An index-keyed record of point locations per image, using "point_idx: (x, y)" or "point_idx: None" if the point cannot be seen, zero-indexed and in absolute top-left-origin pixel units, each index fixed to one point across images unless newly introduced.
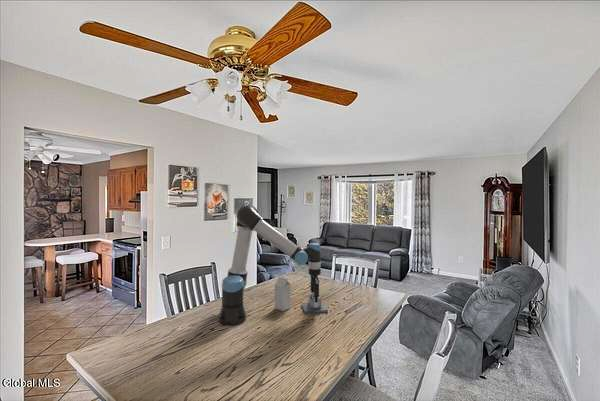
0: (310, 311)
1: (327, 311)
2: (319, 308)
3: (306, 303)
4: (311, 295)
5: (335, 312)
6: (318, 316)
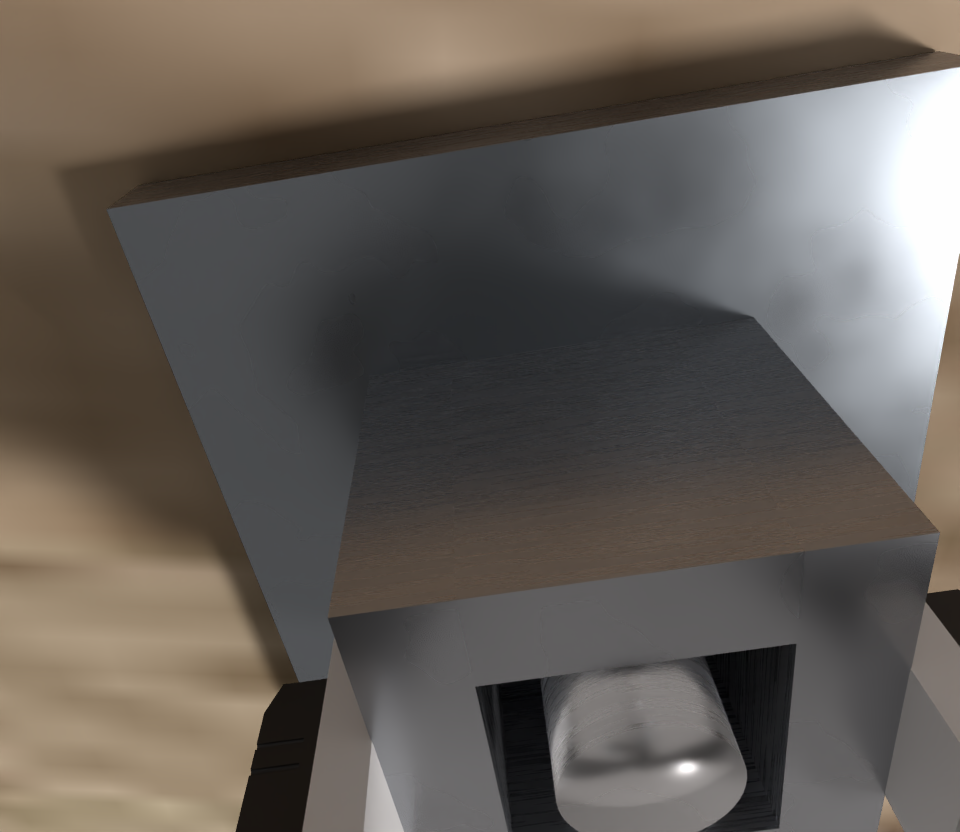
0: (184, 377)
1: None
2: None
3: (863, 274)
4: (828, 670)
5: None
6: (43, 529)
